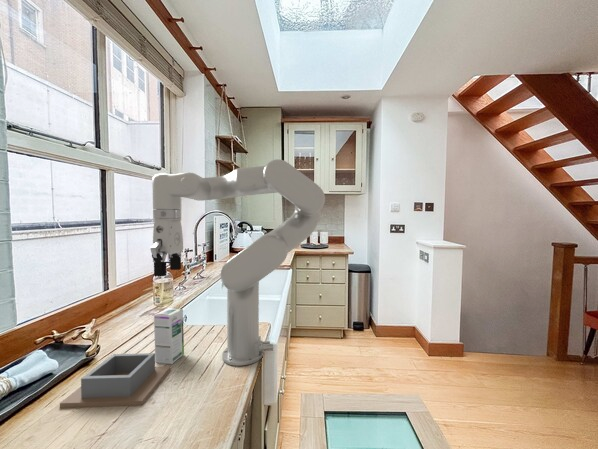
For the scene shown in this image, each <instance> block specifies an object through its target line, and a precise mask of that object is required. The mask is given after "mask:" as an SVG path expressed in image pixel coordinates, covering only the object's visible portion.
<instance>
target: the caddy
mask: <svg viewBox="0 0 598 449" xmlns="http://www.w3.org/2000/svg"><path fill="white" fill-rule="evenodd" d="M171 368H172V367H171V365H168V366H167V365H165V366H164V365H163V366H156V362H155V352H152V353H114V354H112V355H111V356H110V357H108V358H106V360H104V361H103V362H101V363H100V364H99V365H97V366H96V367H95V368H93V369H92V370H91V371H90V372H88V373H86V374H85V375H84V376H83V377H82V378H81V379H80V387H78V388H77V389H76V390H75V391H73V392H72V393H71V394H70V395H68V396H67V397H66V398H64V399H63V400H62V401H60V402H59V408H60V409H61V408H62V409H65V408H66V409H67V408H94V407H95V408H96V407H98V408H99V407H129V406H131V407H132V406H133V407H134V406H143V404H144V403H145V402H146V401H147V400H148V399H149V397H150V396H151V395H152V393H154V391H155V390H156V389H157V388H158V386H159V385H160V384H161V382H163V380H164V378H165V377H166V376H167V375H168V374H169V373H170V371H171Z"/></svg>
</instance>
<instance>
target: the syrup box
mask: <svg viewBox="0 0 598 449" xmlns="http://www.w3.org/2000/svg"><path fill="white" fill-rule="evenodd" d="M153 320H154V321H153V326H154V332H153V333H154V353H155V363H159V364H164V365H173V364H174V363H175V362H176V361H177V360H179V359H180V358H181V357H183V356H184V355H185V344H184V343H185V341H184V340H185V339H184V334H185V333H184V310H183V308H176V307H169V308H166V309H164V310H162V311H159V312H157V313H155V314H153Z"/></svg>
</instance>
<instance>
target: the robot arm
mask: <svg viewBox="0 0 598 449" xmlns="http://www.w3.org/2000/svg"><path fill="white" fill-rule="evenodd" d="M267 194H280V195H281V196H282V197H284V198H285V200H287V201H289V202H290V203H292V204H293V205H294V211H293V214H292V215H291V216H290V217H289V218H287V219H286V220H285V221H283V222H282V223H281V224H279V225H278V226H276V227H275V228H274V229H272V230H271V231H269V232H267V233H265V234H263V235H261V236H260V237H259V238H257V239H256V240H255V241H253V242H252V243H251V244H249V245H248V246H246V247H245V248H244V249H242V250H241V251H240V252H238V253H235V254H234V255H233V256H231V258H229V259H228V260H227V261H226V262H225V263H224V264H223V266H222V267H221V271H220V280H221V283H222V285H223V287H224V288H225V289H227V292H226V295H227V296H226V308H227V309H226V313H227V314H226V315H227V316H226V323H227V324H226V326H227V327H226V328H227V330H226V331H227V335H226V338H227V343H226V345H227V347H226V348H225V349H223V352H222V354H221V355H222V356H221V357H222V362H224V363H226V364H227V365H231V366H235V367H236V366H237V367H238V366H239V367H240V366H241V367H243V366H249V365H251V364H254V363H257V362H258V361H260V360H261V359H262V358H263V357H264V354H265V351H266V352H267V351H269V352H272V351H274V343H271V341H269V340H266V341H263V340H262V339H261V338H262V337H261V336H260V334H259V333H260V328H259V327H260V326H259V324H260V322H259V318H260V315H259V313H260V312H259V311H260V309H259V308H260V307H259V306H260V302H259V301H260V296H259V295H260V293H259V290H260V289H259V288H260V284H259V283H260V281H262V279H264V278H266V277H268V275H270V274H271V273H272V272H275V270H276V269H278V268H279V267H280V266H281V265H282V264H283V263H284V262H285V261H286V259H287V256H288V254H289V253H290V252H291V251H293V250H295V248H296V247H298V246H299V245H301V243H303V242H304V241H305V240H307V239H308V238H309V237H310V236H311V235H312V234H313V233H314V231H316V228H317V226H318V224H319V221H320V220H319V219H320V216H321V215H320V214H321V212H320V211H321V210H322V209H323V208H324V206H325V203H326V196H325V195H326V194H325V192H324V191H323V189H322V188H321V187H320V186H319V185H318V184H317V183H316V182H315V181H314V180H312V179H310V178H309V177H308V176H306V175H305V174H304V173H302V172H301V171H300V170H298V169H297V168H296V167H295V166H293V165H292V164H291V163H289V162H288V161H285V160H283V159H272V160H270V161H268V162H267V163H266V165H260V166H250V167H249V166H248V167H247V166H246V167H237V168H235V169H234V170H232V171H231V172H229V173H227V174H224V175H221V176H219V175H218V176H212V177H211V176H210V177H202V176H200V175H198V174H196V173H194V172H181V173H174V174H172V173H157V174H154V176H152V222H153V232H152V246H150V253H151V257H152V262H153V276H154V277H166V276H167V275H168V274H167V261H166V258H167V255H170V257H169V267H170V268H169V269H170V270H171V271H180V270H181V269H182V258H181V257H182V252H183V250H184V239H183V228H182V203H181V202H182V198H183V199H185V198H186V199H190V200H194V201H201V202H202V201H213V200H221V199H223V200H224V199H229V198H238V197H246V196H255V195H267Z"/></svg>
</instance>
